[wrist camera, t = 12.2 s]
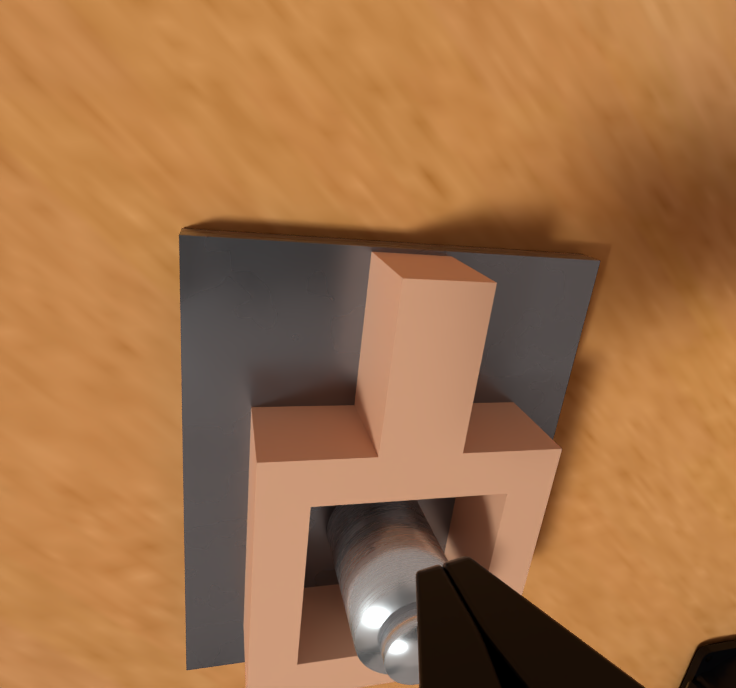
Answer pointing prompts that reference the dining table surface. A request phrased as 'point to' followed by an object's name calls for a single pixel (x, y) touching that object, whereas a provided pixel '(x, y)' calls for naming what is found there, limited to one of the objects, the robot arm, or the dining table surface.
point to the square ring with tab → (389, 466)
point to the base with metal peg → (333, 388)
